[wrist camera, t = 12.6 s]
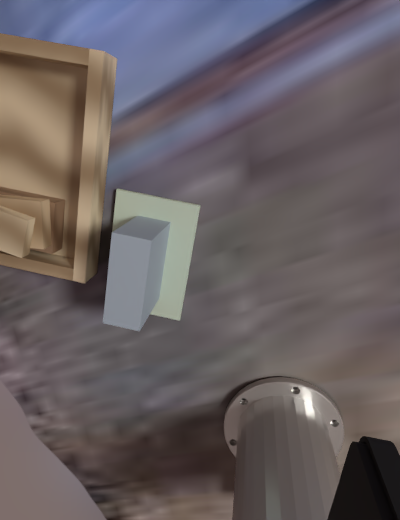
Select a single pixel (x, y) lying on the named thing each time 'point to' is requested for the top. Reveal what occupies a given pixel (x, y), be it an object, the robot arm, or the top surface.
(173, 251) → the mat
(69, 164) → the tray
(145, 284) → the grey rectangular block
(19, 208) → the offcut oak
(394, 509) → the robot arm
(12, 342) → the top surface
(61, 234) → the tan flat block
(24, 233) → the offcut pine
